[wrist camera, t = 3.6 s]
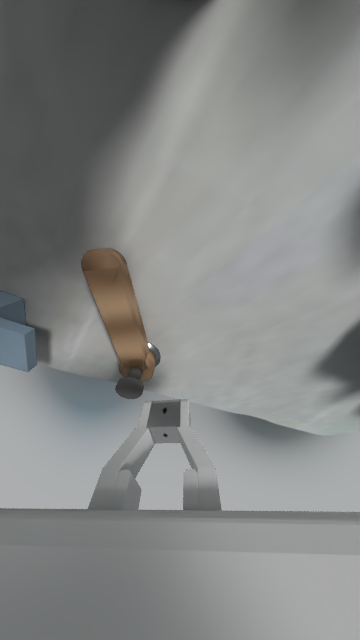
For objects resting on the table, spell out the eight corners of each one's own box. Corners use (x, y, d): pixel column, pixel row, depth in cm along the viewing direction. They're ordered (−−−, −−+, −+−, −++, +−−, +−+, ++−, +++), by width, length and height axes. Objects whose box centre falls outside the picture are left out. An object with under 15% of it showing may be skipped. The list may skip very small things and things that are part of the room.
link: (158, 367, 27) (152, 401, 22) (130, 369, 28) (116, 403, 22) (128, 245, 18) (101, 247, 12) (84, 251, 18) (37, 255, 12)
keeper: (7, 327, 24) (-44, 352, 19) (1, 290, 21) (-63, 307, 16) (60, 344, 26) (27, 372, 20) (62, 312, 23) (24, 334, 17)
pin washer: (117, 342, 25) (117, 342, 25) (156, 339, 25) (156, 339, 25) (128, 370, 29) (128, 371, 28) (163, 368, 28) (163, 368, 28)
